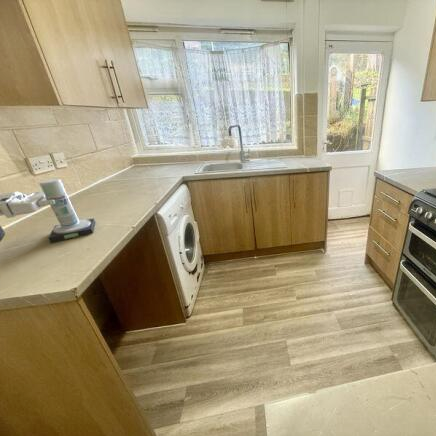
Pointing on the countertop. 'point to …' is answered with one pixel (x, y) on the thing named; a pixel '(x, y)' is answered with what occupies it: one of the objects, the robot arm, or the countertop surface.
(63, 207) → the spray can
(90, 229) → the kitchen scale
